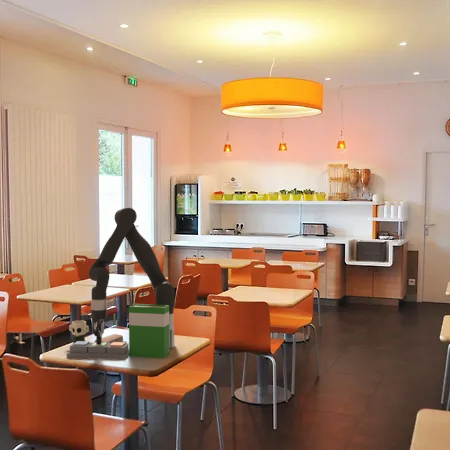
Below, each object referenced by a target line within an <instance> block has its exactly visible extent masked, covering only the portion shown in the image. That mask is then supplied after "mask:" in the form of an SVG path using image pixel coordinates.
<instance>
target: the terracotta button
mask: <svg viewBox="0 0 450 450" xmlns="http://www.w3.org/2000/svg"><path fill="white" fill-rule="evenodd" d="M123 346H125V342H113V343H112V344H110V347H123Z"/></svg>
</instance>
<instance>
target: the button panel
mask: <svg viewBox="0 0 450 450" xmlns="http://www.w3.org/2000/svg"><path fill="white" fill-rule="evenodd" d="M93 344H94V342H90V341H89V344H88V345H87V346H73V343H72V344H71V345H70V346H69V351H68V352H67V353H66V358H67V359H68V358H71V359H73V358H74V359H78V358H79V359H104V360H105V359H106V360H107V359H110V360H111V359H113V360H126V358H127V357H129V342H128V343H125V346H123V347H110V343H107V345H106V346H104V347H97V346H91V345H93ZM111 344H112V343H111Z"/></svg>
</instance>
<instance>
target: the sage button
mask: <svg viewBox="0 0 450 450" xmlns="http://www.w3.org/2000/svg"><path fill="white" fill-rule="evenodd" d="M94 342H95V341H94ZM94 342H93V343H94ZM106 345H107V343H101V344H96V342H95V343H94V344H93V345H91V346H97V347H104V346H106Z"/></svg>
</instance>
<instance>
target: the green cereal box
mask: <svg viewBox="0 0 450 450" xmlns="http://www.w3.org/2000/svg"><path fill="white" fill-rule="evenodd" d="M128 343H129V355H128V357H137V358H149V359H151V358H152V359H166V358H167V357H168V356H169V355H170V348H169V305H156V304H152V303H151V304H147V303H146V304H145V303H134V304H133V305H129V306H128Z"/></svg>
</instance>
